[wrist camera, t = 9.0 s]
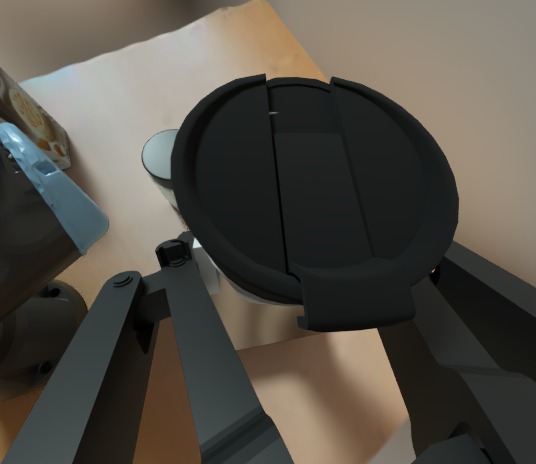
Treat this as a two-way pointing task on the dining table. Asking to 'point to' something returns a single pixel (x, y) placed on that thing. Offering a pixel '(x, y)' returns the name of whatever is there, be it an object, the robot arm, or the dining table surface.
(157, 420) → the dining table surface
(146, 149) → the jar
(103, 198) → the dining table surface
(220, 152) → the travel mug
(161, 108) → the dining table surface
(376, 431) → the dining table surface
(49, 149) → the coffee box
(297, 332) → the peg shelf
